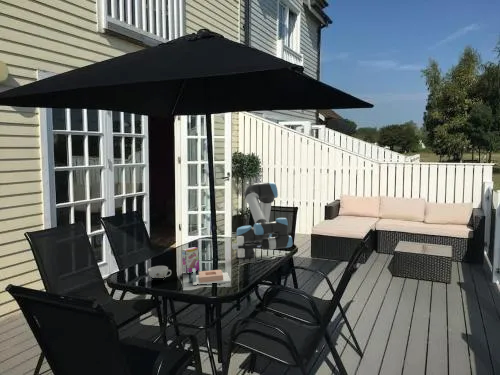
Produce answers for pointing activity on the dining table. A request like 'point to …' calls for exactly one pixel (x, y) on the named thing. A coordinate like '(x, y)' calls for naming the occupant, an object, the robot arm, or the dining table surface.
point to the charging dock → (226, 279)
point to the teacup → (159, 272)
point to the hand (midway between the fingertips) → (232, 246)
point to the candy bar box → (190, 259)
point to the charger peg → (240, 241)
